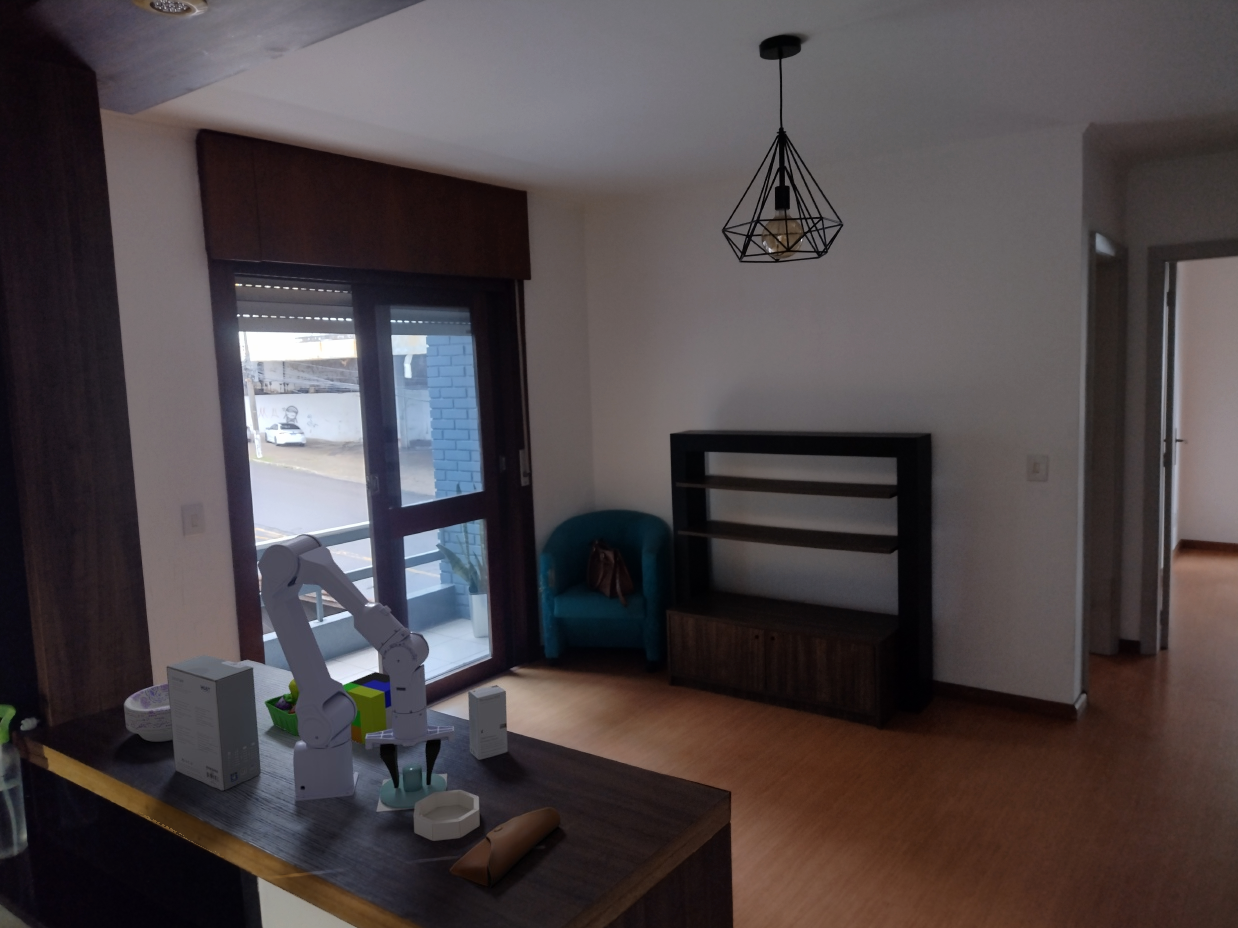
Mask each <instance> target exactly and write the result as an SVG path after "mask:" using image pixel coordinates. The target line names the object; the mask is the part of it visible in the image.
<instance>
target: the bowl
mask: <svg viewBox="0 0 1238 928" xmlns="http://www.w3.org/2000/svg"><path fill="white" fill-rule="evenodd" d="M413 809H414V810H413V811H414V812H413V831H414V834H417V835H419V836H421V837H423V838H425V839H427V840H430V841H434V842H436V841H443V840H452V839H453V840H454V839H460V838H463V837H464V836H466V835H467V834H469V833H470V832H472V831H474V830H475V829H477V828H478V827H480V819H481V818H480V797H479V796H478V795H475V794H474V793H470V792H468V791H465V790H464V789H463V790H462V789H453V790H446V791H442V792H434V793H432V794H431V795H429V796H427V797H425V798H423V799H422V800H420V801H418V802H416V803H415V808H413Z"/></svg>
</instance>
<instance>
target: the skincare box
mask: <svg viewBox="0 0 1238 928" xmlns="http://www.w3.org/2000/svg"><path fill="white" fill-rule="evenodd" d="M467 692H468V693H467V694H468V695H467V697H468V723H469V724H468V726H469V727H468V728H469V731H468V732H469V753H470V754H471V755H473V757H474V758H476V759H477V760H483V759H487V758H488V759H489V758H491V757H495V756H499V755H502V754H505V753H508V726H507V725H508V723H507V722H508V721H507V692H506V690H505V689H504V688H502V687H501V686H499V685H497V684H496V685H490V686H483V687H480V688H476V689H473V690H468V691H467Z"/></svg>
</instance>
